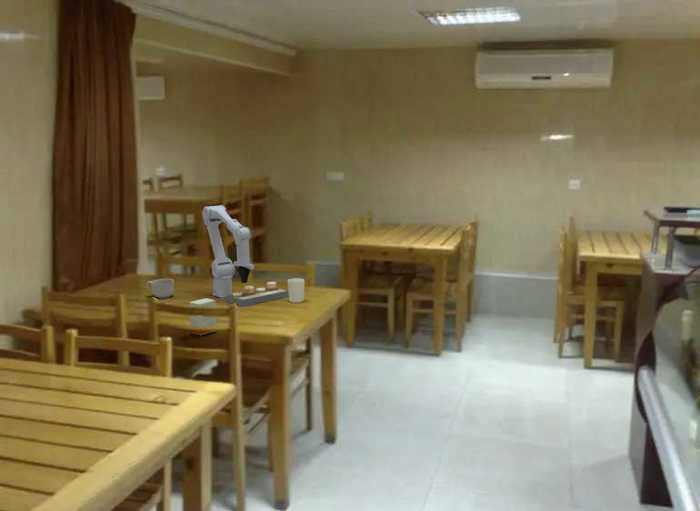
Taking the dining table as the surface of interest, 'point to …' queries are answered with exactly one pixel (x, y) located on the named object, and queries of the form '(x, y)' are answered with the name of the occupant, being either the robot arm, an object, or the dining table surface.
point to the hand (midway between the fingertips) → (244, 282)
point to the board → (257, 297)
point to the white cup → (296, 290)
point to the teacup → (161, 287)
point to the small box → (200, 320)
